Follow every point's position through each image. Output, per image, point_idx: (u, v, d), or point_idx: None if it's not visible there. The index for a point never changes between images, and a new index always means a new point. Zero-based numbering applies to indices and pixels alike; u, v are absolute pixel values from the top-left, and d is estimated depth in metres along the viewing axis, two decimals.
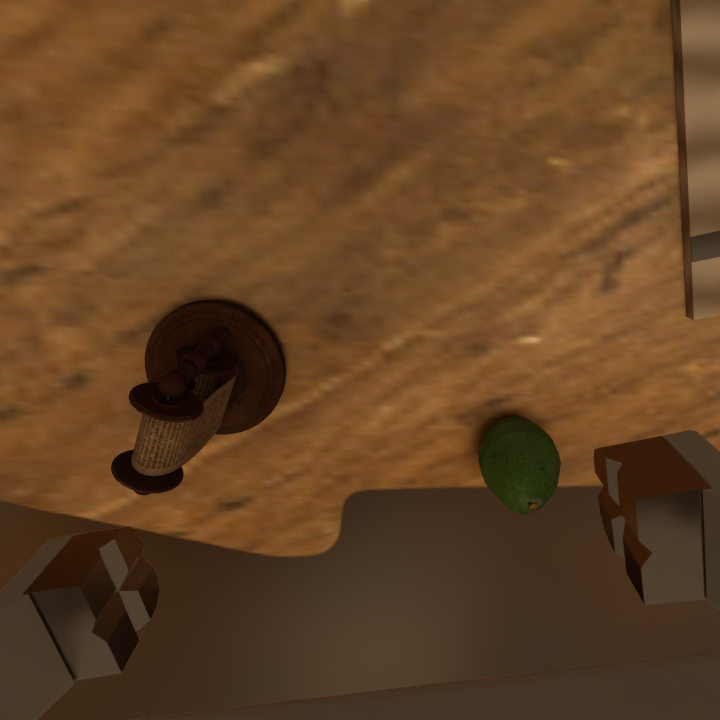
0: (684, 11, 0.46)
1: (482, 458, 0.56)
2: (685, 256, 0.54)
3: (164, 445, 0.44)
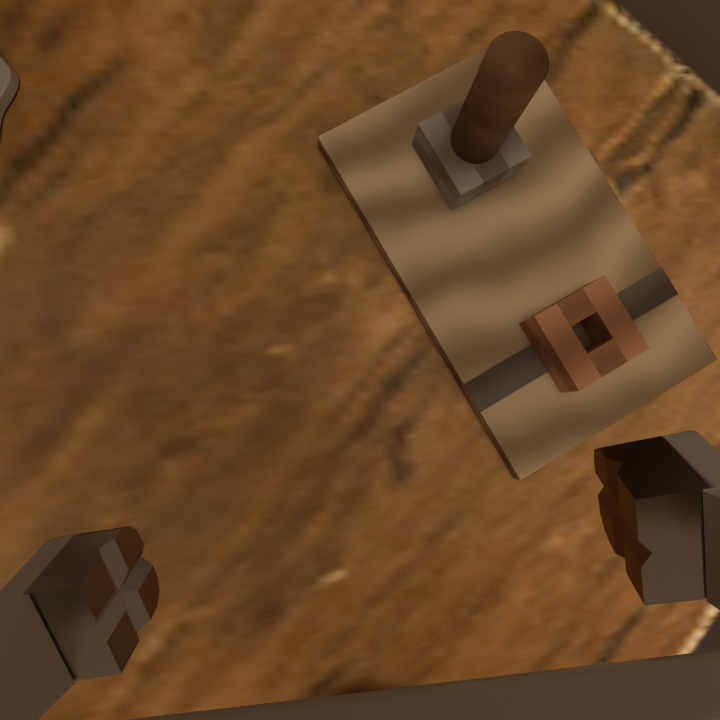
0: (341, 169, 0.43)
1: None
2: (473, 407, 0.43)
3: None
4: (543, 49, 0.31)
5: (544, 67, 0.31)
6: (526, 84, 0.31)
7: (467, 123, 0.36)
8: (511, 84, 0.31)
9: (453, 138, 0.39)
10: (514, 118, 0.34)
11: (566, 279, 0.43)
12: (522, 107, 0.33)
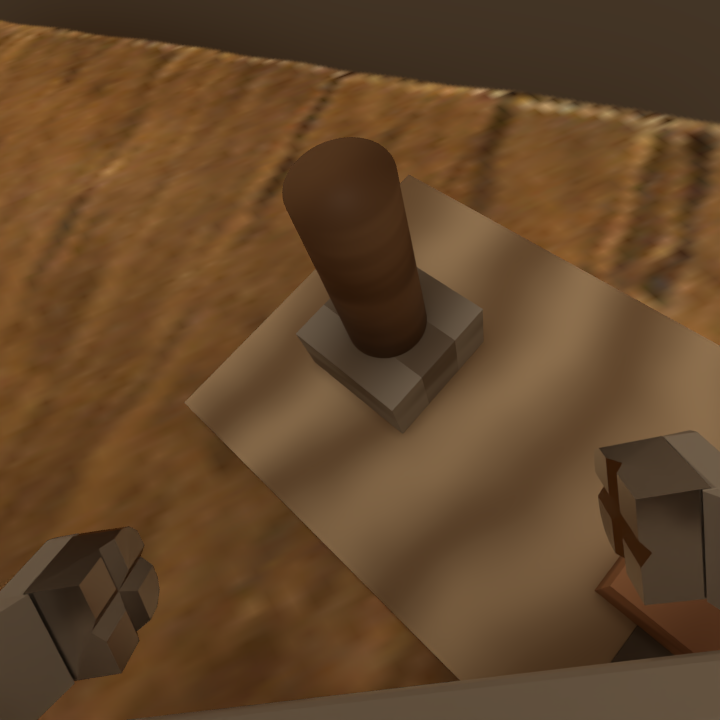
0: (224, 435, 0.28)
1: None
2: None
3: None
4: (377, 146, 0.17)
5: (388, 170, 0.17)
6: (367, 207, 0.16)
7: (338, 306, 0.21)
8: (339, 218, 0.16)
9: (348, 333, 0.24)
10: (396, 268, 0.19)
11: None
12: (394, 247, 0.18)
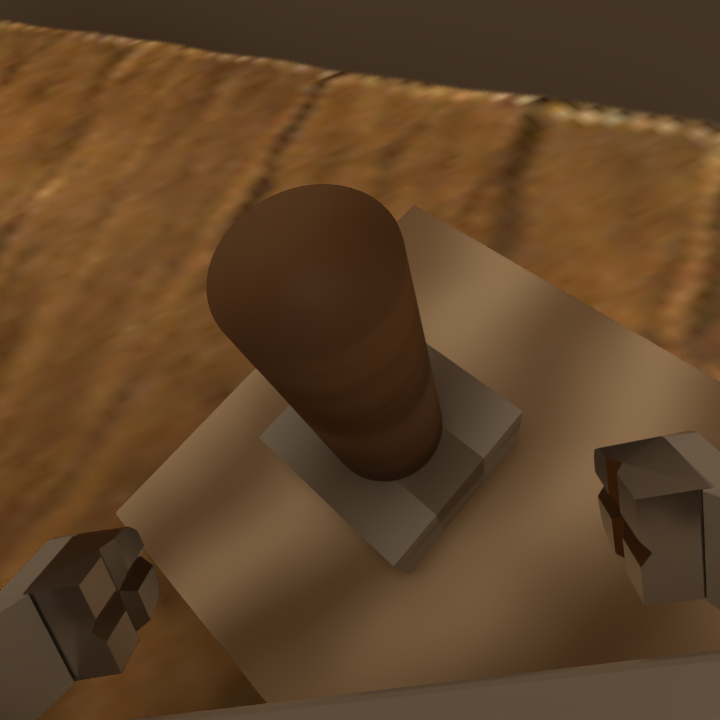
0: (165, 564, 0.21)
1: None
2: None
3: None
4: (370, 202, 0.10)
5: (390, 246, 0.10)
6: (351, 316, 0.09)
7: (312, 429, 0.14)
8: (301, 335, 0.09)
9: None
10: (401, 391, 0.12)
11: None
12: (399, 366, 0.11)
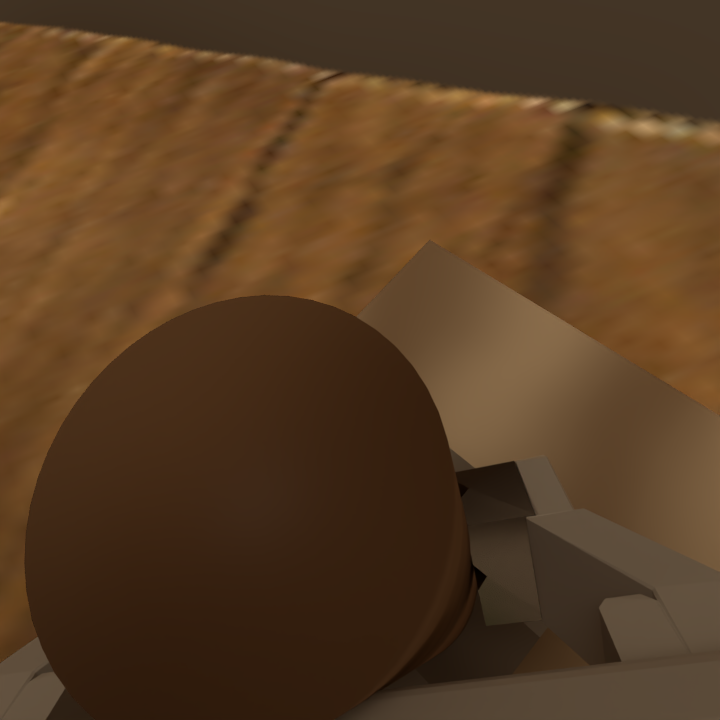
0: None
1: None
2: None
3: None
4: (374, 345, 0.05)
5: (418, 459, 0.04)
6: (328, 647, 0.04)
7: None
8: (210, 692, 0.04)
9: None
10: (430, 650, 0.06)
11: None
12: (429, 643, 0.06)
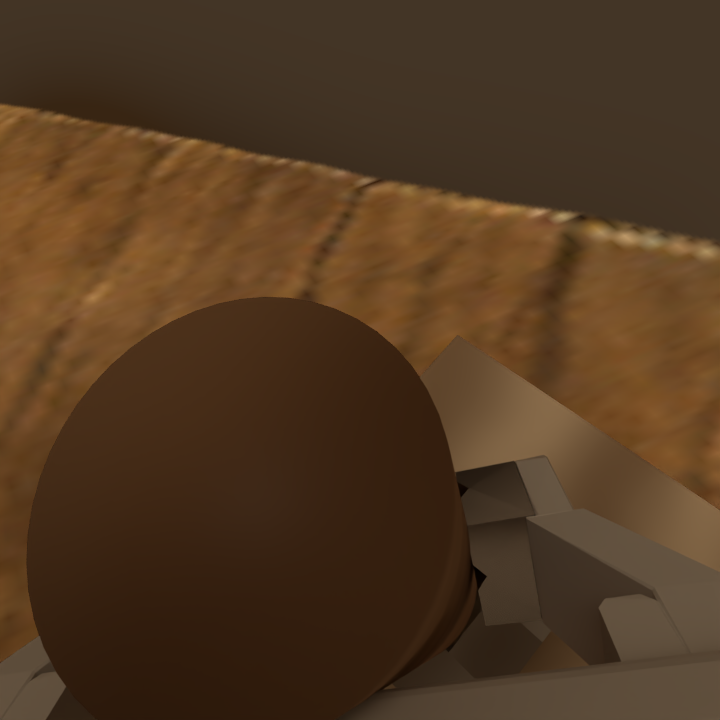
0: None
1: None
2: None
3: None
4: (374, 346, 0.05)
5: (418, 460, 0.04)
6: (329, 647, 0.04)
7: None
8: (211, 692, 0.04)
9: None
10: (430, 651, 0.07)
11: None
12: (429, 644, 0.06)
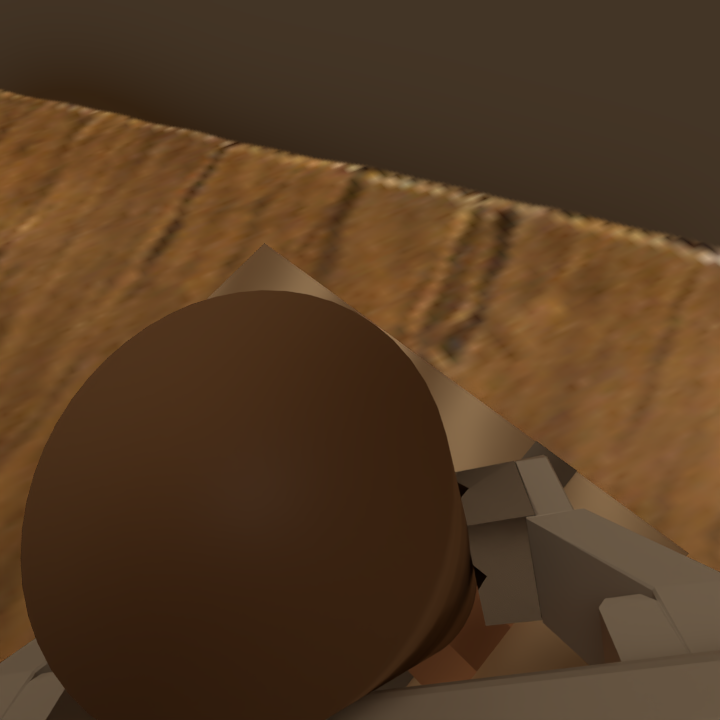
0: None
1: None
2: None
3: None
4: (372, 339, 0.05)
5: (416, 454, 0.04)
6: (326, 642, 0.04)
7: None
8: (206, 688, 0.04)
9: None
10: (429, 647, 0.06)
11: None
12: (427, 639, 0.06)
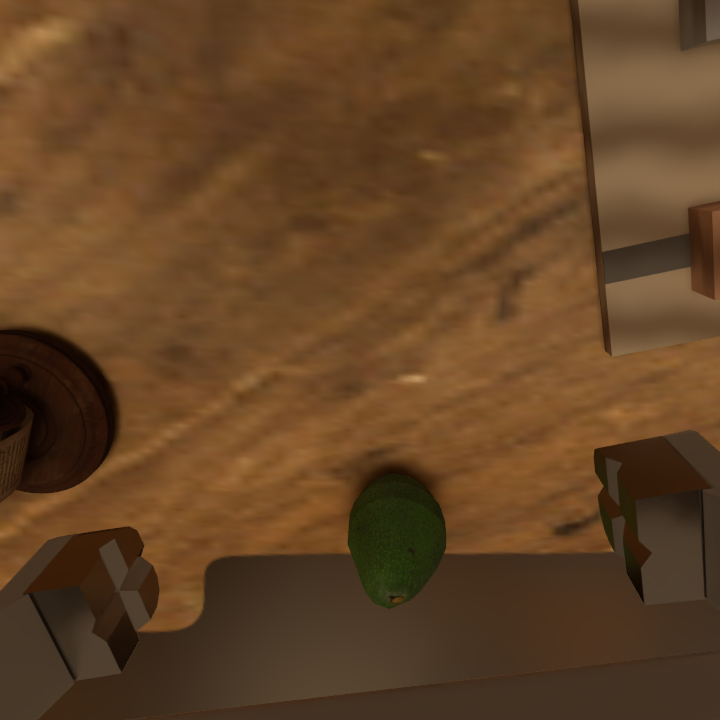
0: None
1: None
2: (599, 276, 0.42)
3: None
4: None
5: None
6: None
7: None
8: None
9: None
10: None
11: None
12: None
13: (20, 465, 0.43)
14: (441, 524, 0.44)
